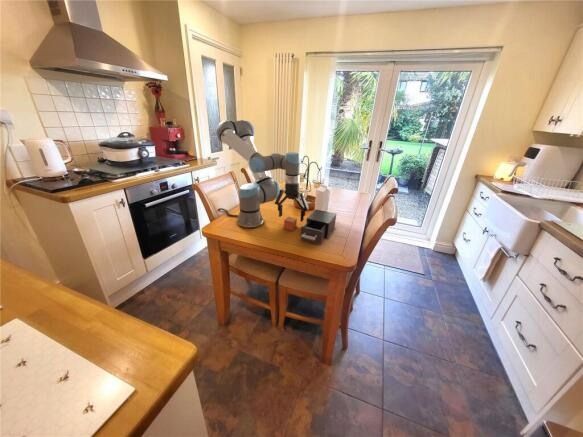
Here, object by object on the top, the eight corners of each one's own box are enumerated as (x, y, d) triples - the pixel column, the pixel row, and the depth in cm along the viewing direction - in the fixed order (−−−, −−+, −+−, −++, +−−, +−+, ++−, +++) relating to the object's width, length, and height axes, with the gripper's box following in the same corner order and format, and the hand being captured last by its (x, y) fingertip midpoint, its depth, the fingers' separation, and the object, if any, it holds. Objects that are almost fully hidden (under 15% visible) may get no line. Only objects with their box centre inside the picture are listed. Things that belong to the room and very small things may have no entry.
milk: (320, 220, 148) (323, 187, 138) (313, 217, 152) (316, 184, 143) (327, 218, 151) (330, 185, 142) (320, 214, 156) (323, 183, 146)
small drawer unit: (327, 239, 127) (328, 223, 123) (305, 233, 132) (306, 218, 127) (334, 228, 139) (336, 213, 135) (314, 223, 144) (315, 209, 139)
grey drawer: (317, 249, 116) (319, 235, 112) (296, 243, 120) (297, 230, 116) (328, 234, 130) (330, 221, 127) (309, 229, 134) (310, 217, 131)
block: (284, 228, 136) (284, 220, 134) (288, 225, 140) (288, 216, 138) (292, 230, 134) (292, 222, 132) (296, 227, 138) (296, 218, 136)
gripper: (268, 180, 127) (269, 216, 136) (311, 187, 118) (308, 225, 126) (275, 177, 133) (275, 211, 142) (316, 184, 124) (313, 220, 133)
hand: (291, 218), depth 134 cm, fingers open, 13 cm apart
